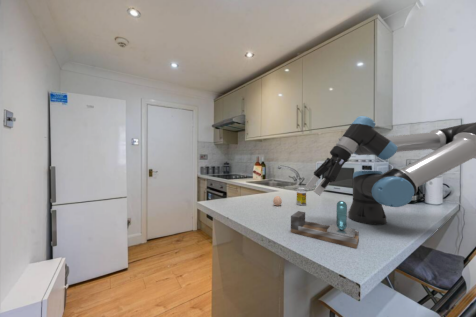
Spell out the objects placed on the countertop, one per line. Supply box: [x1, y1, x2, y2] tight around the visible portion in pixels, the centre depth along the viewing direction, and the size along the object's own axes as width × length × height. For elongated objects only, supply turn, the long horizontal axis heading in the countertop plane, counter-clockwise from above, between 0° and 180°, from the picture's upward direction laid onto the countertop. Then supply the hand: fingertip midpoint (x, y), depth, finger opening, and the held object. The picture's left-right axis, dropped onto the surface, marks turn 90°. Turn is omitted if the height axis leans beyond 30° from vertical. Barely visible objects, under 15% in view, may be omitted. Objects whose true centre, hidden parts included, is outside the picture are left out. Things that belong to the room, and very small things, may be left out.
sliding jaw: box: [327, 200, 356, 238], centre depth 69 cm, size 8×7×12 cm
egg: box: [272, 195, 283, 207], centre depth 117 cm, size 5×5×6 cm
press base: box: [290, 210, 360, 249], centre depth 73 cm, size 22×8×6 cm, turn 54°
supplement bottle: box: [296, 187, 307, 206], centre depth 120 cm, size 6×6×10 cm
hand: (311, 190), depth 82 cm, fingers open, 13 cm apart
